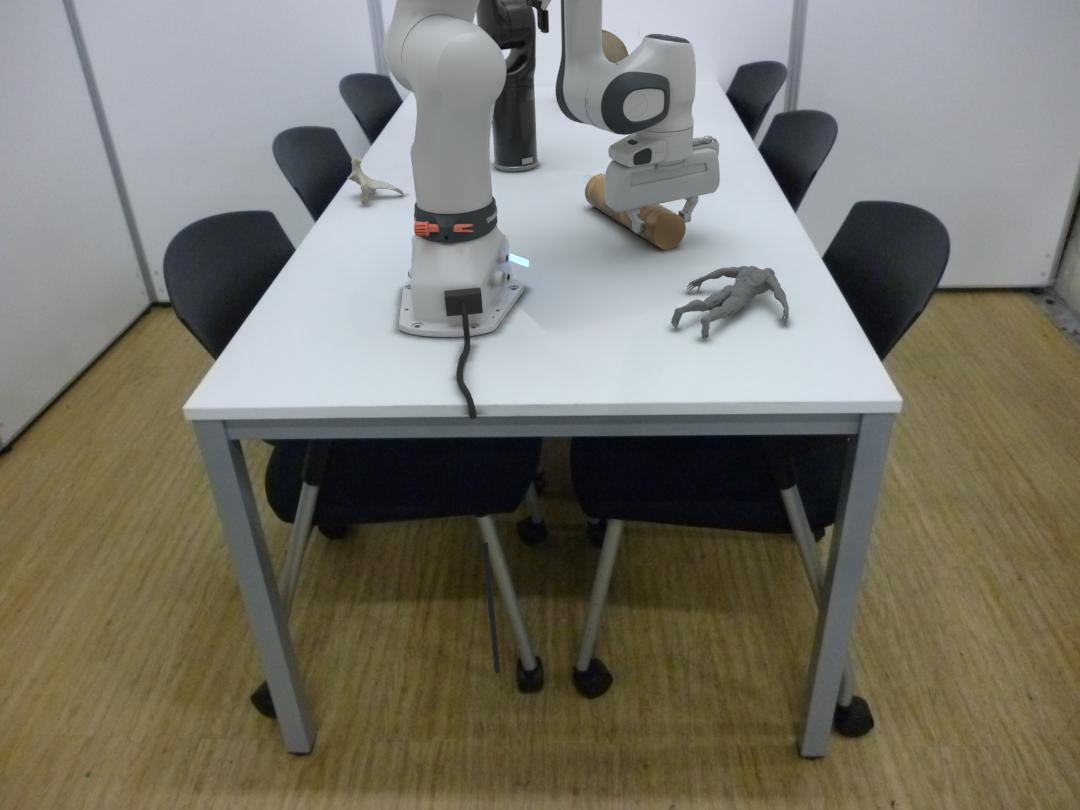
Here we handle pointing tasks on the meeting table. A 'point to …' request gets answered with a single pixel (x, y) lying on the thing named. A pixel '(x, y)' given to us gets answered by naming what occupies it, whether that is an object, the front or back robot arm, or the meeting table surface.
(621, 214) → the rod
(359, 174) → the bone
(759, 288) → the figurine
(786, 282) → the meeting table surface
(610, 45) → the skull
